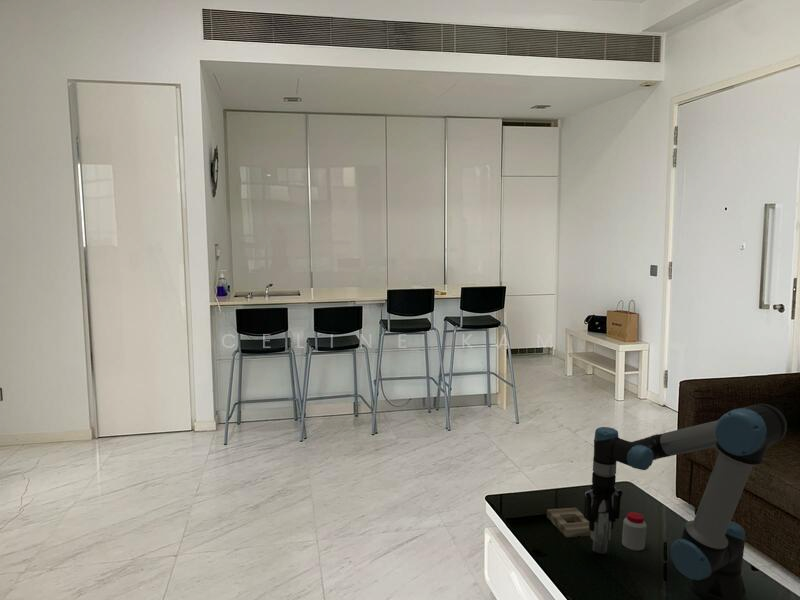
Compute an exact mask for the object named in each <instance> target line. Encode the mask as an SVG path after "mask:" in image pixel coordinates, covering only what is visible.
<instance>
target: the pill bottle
mask: <svg viewBox="0 0 800 600" xmlns="http://www.w3.org/2000/svg"><path fill="white" fill-rule="evenodd" d="M644 518H645V517H644V515H643V514H641V513H639V512H635V511H629V512H627V513H626V517H625V518H624V519H623V522H622V523H623V524H622V533H621V544H622V545H623V547H625V548H627V549H629V550H632V551H642V550H645V548H646V537H647V526H648V525H647V522H646V521H645V519H644Z"/></svg>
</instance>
